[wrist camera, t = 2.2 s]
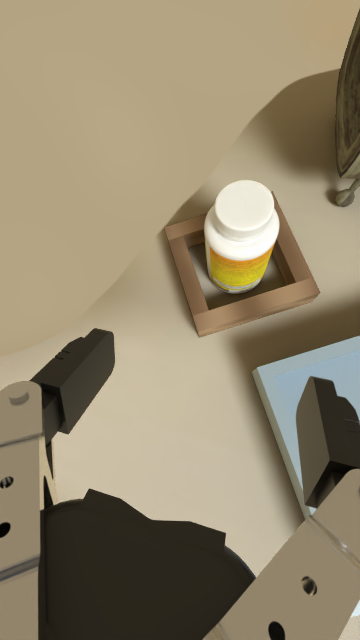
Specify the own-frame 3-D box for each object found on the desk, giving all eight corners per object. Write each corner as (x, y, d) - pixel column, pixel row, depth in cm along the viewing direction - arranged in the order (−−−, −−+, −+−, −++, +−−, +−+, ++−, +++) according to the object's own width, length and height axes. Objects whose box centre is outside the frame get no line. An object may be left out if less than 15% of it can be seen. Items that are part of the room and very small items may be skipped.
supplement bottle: (272, 286, 28) (300, 226, 18) (216, 302, 29) (215, 252, 19) (253, 237, 30) (270, 158, 20) (201, 253, 30) (192, 183, 20)
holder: (268, 207, 31) (272, 191, 28) (311, 301, 27) (320, 292, 25) (168, 240, 31) (164, 227, 29) (199, 337, 28) (197, 331, 25)
